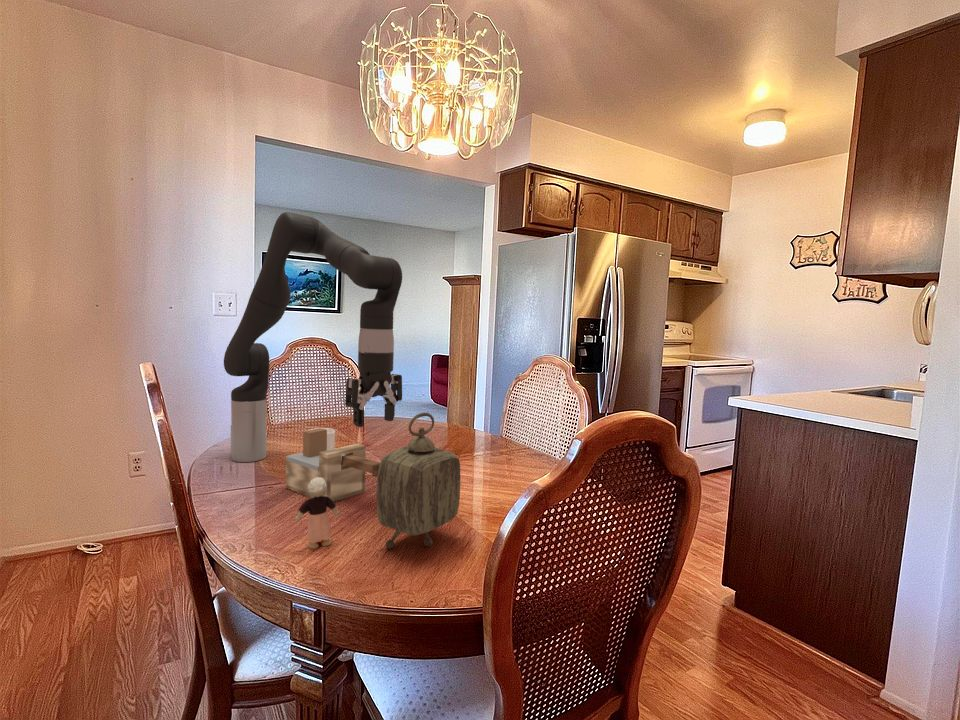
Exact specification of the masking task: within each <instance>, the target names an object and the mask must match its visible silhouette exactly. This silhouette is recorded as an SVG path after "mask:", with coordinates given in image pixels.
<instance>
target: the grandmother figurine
mask: <svg viewBox="0 0 960 720" xmlns="http://www.w3.org/2000/svg"><path fill="white" fill-rule="evenodd" d="M326 487H327V485H326V481H325V480H324V479H323V478H320V477H317V478H314V479H313V480H311V482H310V483H309V485H308V491H309V492H310V493H311V495H312V496H314V498H309V499H306V500H305V501H303V502H302V504H301V505H300V506H299V508H298V512H297V514H296V516H295V517H294V519H295V521H298V522H299V521H301V520H302V517H303V515H304V514H306V513H308V516H307V538H308V541H307V543H306V546H307V547H308V548H309V549H317V548H319V546H320V545H321V546H322V547H326V546H330V545H331V543H332V538H331V536H330V532H331V531H330V522H329V521H330V519H329V514H328V509H327V508H329V509H330V510H331V512H332V514H333V516H335V517H338V516H339V514H340V511H339V510H338V507H337V505H336V502H333V501H332V500H331V499H330V498H329V497H326V496H322V495H323V494H324V492H325V490H326ZM319 542H320V545H319Z"/></svg>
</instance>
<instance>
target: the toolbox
mask: <svg viewBox="0 0 960 720" xmlns="http://www.w3.org/2000/svg"><path fill="white" fill-rule="evenodd" d="M366 448H367V447H366V445H364V444H360V443H354V444H350V445H346V446H341V447H335V448H334V449H331V450H327V451H323V452H319V471H316V470H314V469H311V468H308V467H305V466H302V465H299V464H296V463H293V462H290V461H287V460H286V459H285V488H286V487H287V488H289V489H291V490H294V491H296V492H298V493H297V494H299V493H301V494H303V495H302V496H304V495H305V496H304V497H306V496H308V497H307V498H309V497H310V498H309V499H311V498H314V496H312V495H311V493H310V492H309V491H308V485H309V483H310V482H311V480H313V479H314V478H317V477H320V478H323V479H324V480H325V481H326V485H327V487H326V490H325V492H324V494H323V495H322V496H326V497H329V498H330V499H331V500H332V501H333V502H334V503H336V502H339V501H343V500H345V499H348V498H350V497H354V496H357V495H360V494H363V493H365V492H366V471H363V470H359V469H356V468H353V467H350V466H347V465H341V455H343V454H345V455H349V454H351V455H354V456H358V457H361V458H365V459H367V458H366V454H367V453H366V452H367V450H366ZM289 489H288V490H289ZM291 490H290V491H291ZM294 491H293V492H294ZM296 492H295V493H296ZM301 494H300V495H301ZM338 500H339V501H338ZM335 501H336V502H335Z"/></svg>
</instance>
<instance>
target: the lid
mask: <svg viewBox="0 0 960 720" xmlns="http://www.w3.org/2000/svg"><path fill="white" fill-rule="evenodd" d="M318 428H319V429H315V428H312V429H313V430H310V429H307V430H308V431H307V430H304V431H303V432H302V433H303V434H302V437H303V438H302V439H303V440H302V442H303V443H302V452H298V453H293V454H289V455H285V461H286V460H287V461H290V462H293V463H296V464H299V465H302V466H305V467H308V468H311V469H314V470H316V471H319V452H323V451H327V450H331V449H327V430H326V429H322V428H323V427H318ZM342 456H345V454H343V455H341V465H343V464H342Z"/></svg>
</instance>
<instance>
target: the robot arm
mask: <svg viewBox="0 0 960 720" xmlns="http://www.w3.org/2000/svg"><path fill="white" fill-rule="evenodd" d="M291 252H292V253H293V252H294V253H300V254H305V255H306V254H313V255H319V256H322V257H324V258H325V260H326V261H327V262H328V265H330V266H331V267H333V268H334V269H335V270H337V271H338V272H341V273H343V274H345V275H346V276H347V277H348V278H349V279H350V280H351V282H352V283H354V284H355V285H356V286H358V287H360V288H362V289H368V290H377V291H376V293H375V296H374V298H373V299H372V300H366V301H364V302H363V303H362V304H361V305H360V310H359V311H360V312H359V334H358V341H357V342H358V343H357V344H358V347H357V348H358V351H357V353H358V354H357V370H358V372H359V377H358V378H354V377H353V378H350V377H348V378H346V384H345V386H346V387H345V401H344V405H345V407H348V408H352V410H353V415H352V418H353V421H352V422H353V424H354V426H355V427H358V428H362V427H365V409H364V408H365V406H366V405H367V404H368V402H370V400H371V399H372V398H376V397H382V398H383V401H384V402H385V403H384V418H383V419H384V420H385V421H387V422H393V421H394V419H395V413H396V404H397V403H398V402H399V401H402V400H403V376H402V375H401V374H397V373H396V374H395V373H392V372H393V371H394V355H395V354H394V353H395V352H394V350H395V349H394V348H395V339H394V338H395V337H394V311H395V306H396V305H397V300H398V297H399V294H400V289H401V286H402V283H403V271H402V267H401V265H400V263H399V262H398V261H397V260H395V259H394V258H392V257H385V256H384V257H383V256H380V255H379V256H377V255H373V254H372V255H371V254H370V253H369V251H368V250H366V249H365V248H364V247H362V246H361V245H358V244H356V243H354V242H352V241H350V240H349V239H348V240H347V239H345V238H344V237H341V236H339V235H337V234H336V233H335V232H333V231H332V230H331V229H329V227H327V225H325V224H324V223H323V222H321V221H320V220H318V219H317V218H315V217H312V216H308V215H304V214H301V213H300V214H299V213H295V212H289V211H288V212H287V211H285V212H282V213H280V215H278V218H277V219H276V221H275V223H274V226H273V229H272V233H271V235H270V239H269V242H268V246H267V250H266V254H265V256H264V260H263V263H262V266H261V268H260V271H259V274H258V277H257V279H256V282H255V284H254V286H253V288H252V290H251V293H250V295H249V298H248V300H247V301H248V302H247V305H246V306H245V307H246V308H245V310H244V312H243V315H242V318H241V320H240V322H239V324H238V327H237V329H236V330H235V332H234V334H233V336H232V337H231V338H230V339H231V340H230V341H229V343H228V345H227V347H226V349H225V352H224V357H223V367H224V371H225V373H227V374H228V376H232V377H248V379H247V380H246V381H245V382H244V383H242V384H240V385H239V386H237V387H235V388H233V389H232V390H231V392H230V404H231V405H230V410H231V411H230V412H231V414H230V417H231V420H230V421H231V423H230V458H231V460H232V461H233V462H239V463H251V462H257V461H262V460H264V459H266V458H267V393H268V390H269V378H270V377H269V376H270V375H269V374H270V354H269V351H268V347H267V346H266V345H265V344H263V343H258V342H256V341H257V340H258V339H259V338H260V337H261V336H262V335H264V334H265V333H266V332H268V331H269V330H270V329H271V328H273V327H274V326H275V325H276V324H277V323H278V322H279V321H280V320H282V317H283V316H284V314H285V311H286V309H287V307H288V304H289V303H290V300H291V288H290V284H289V281H288V278H287V275H286V269H285V266H286V263H287V259H288V258H289V255H290V253H291Z"/></svg>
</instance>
